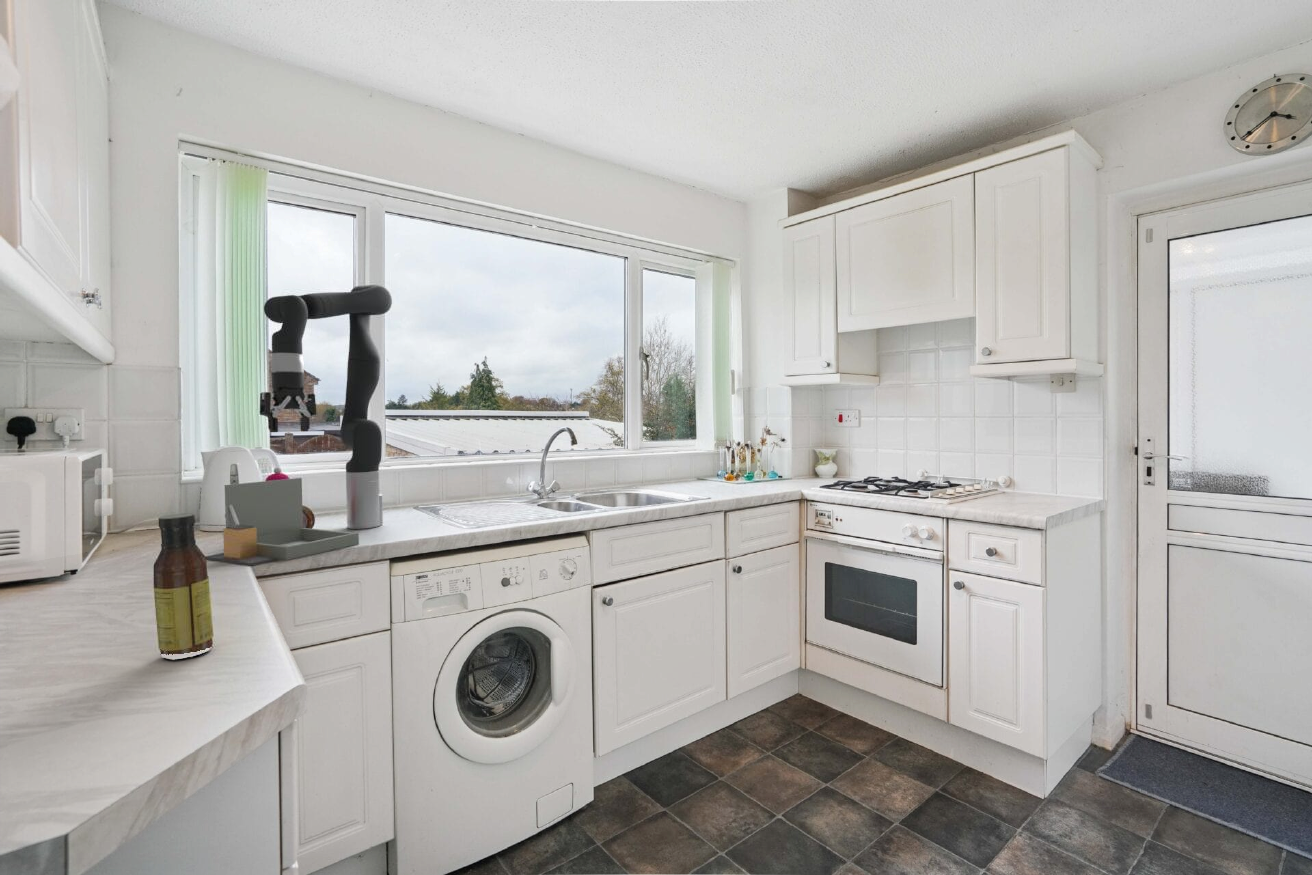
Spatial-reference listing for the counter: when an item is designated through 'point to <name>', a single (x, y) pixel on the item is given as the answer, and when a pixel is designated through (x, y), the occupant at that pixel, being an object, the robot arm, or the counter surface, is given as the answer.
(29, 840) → the counter surface
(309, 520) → the brown rounded piece
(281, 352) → the robot arm
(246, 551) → the block
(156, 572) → the sauce bottle
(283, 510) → the case
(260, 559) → the mat
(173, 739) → the counter surface
